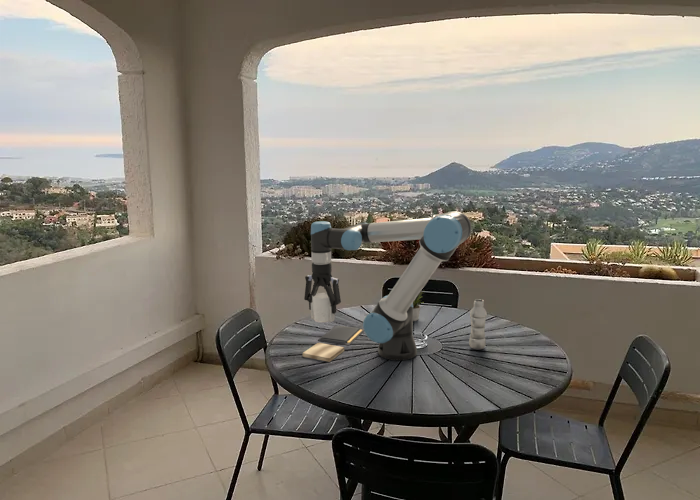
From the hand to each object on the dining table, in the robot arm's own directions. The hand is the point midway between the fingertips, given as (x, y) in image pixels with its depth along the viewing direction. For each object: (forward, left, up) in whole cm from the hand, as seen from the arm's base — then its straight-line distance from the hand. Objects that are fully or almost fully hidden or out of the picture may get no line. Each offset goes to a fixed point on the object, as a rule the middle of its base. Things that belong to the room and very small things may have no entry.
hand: (322, 319), depth 208 cm
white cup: (0, 0, 0) cm, 0 cm away
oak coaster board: (0, 0, -14) cm, 14 cm away
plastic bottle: (-53, -31, -14) cm, 63 cm away
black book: (+3, -21, -15) cm, 26 cm away
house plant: (-16, -54, -14) cm, 58 cm away
